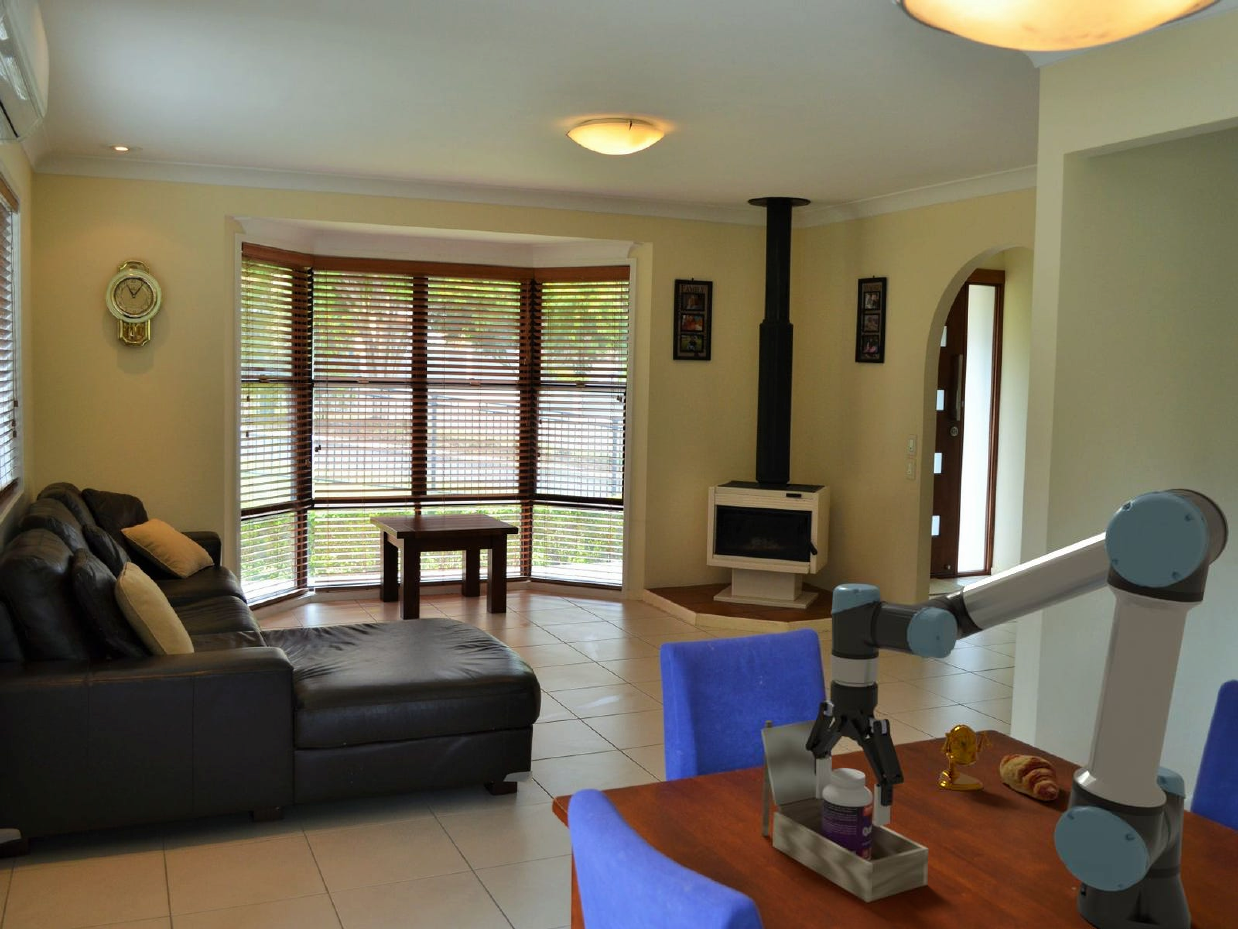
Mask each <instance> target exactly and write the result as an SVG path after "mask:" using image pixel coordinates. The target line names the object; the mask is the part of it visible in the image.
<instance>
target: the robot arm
mask: <svg viewBox="0 0 1238 929" xmlns="http://www.w3.org/2000/svg"><path fill="white" fill-rule="evenodd" d="M1229 532H1230V531H1229V523H1228V520H1227V517H1226V514H1225V513H1224V510H1222V508H1221V507H1220V505H1219V504H1218V503H1217V502H1216V501H1214V500H1213V498H1211V497H1210V496H1208V495H1206V494H1205V493H1202V492H1199V491H1197V490H1194V489H1189V488H1171V489H1166V490H1161V491H1158V490H1156V491H1150V492H1146V493H1143V494H1139V495H1137V496H1135V497H1133V498H1131V499H1129V500H1128V501H1126V502H1125V503H1124V504H1123V505H1121V506H1120V507H1119V508H1118V509H1117V510H1116V511H1115V512H1114V514H1113V515H1112V517H1111V518H1110V519H1109V521H1108V524H1107V527H1106V529H1105V531H1102V532H1100V533H1097V534H1095V535H1092V536H1089V537H1087V538H1085V539H1083V540H1080V541H1079V540H1078V541H1077V542H1074V543H1072V544H1069V545H1067V546H1064V547H1062V548H1059V549H1057V550H1054V551H1051V552H1049V553H1047V554H1044V555H1041V556H1039V557H1036V558H1034V559H1030V560H1028V561H1026V562H1024V563H1021V564H1018V565H1016V566H1013V567H1011V568H1008V569H1005V570H1003V571H1001V572H998V573H996V574H993V575H990V576H988V577H985V578H983V579H980V580H978V581H975V582H973V583H970V584H967V585H966V586H963V587H960V588H956V589H954V590H953V591H949V592H947V593H945V594H942V595H939V596H937V597H933V598H930V599H927V600H923V601H920V602H916V603H914V604H907V603H900V602H899V603H897V602H889V601H886V600H882V596H881V590H880V588H879V587H878V586H875V585H871V584H866V583H843V584H839V585H837V586H836V587H835V588H834V590H833V593H832V605H831V611H830V614H831V653H830V671H829V672H830V673H829V674H830V677H831V681H830V689H829V690H830V691H829V699H828V700H824V701H819V708H818V714H817V717H816V719H815V720H816V721H815V724H814V726H813V729H812V731H811V733H810V736H809V738H808V741H807V743H806V750H807V751H811V752H812V753H813V756H814V757H815V766H814V768H815V769H814V772H815V775H816V798H818V799H820V798H822V793H823V790H824V788H825V787H826V786H827V785H828V784H830V783H831V771H832V767H833V766H832V762H833V761H832V760H833V759H832V758H833V757H831V755H832V754H831V752H832V750H833V749H834V748H835V747H836V745H837V744H838V743H839V741H840V740H841V739H842V738H843V737H844V738H849V739H850V740H852V741H854V742H856V743H857V745H858V746H859V747H860V748H862V751H863V753H864V754H865V757H866V758H867V759H866V760H867V761H868V763H869V765H870V767H871V770H872V772H873V774H874V776H875V778H876V780H877V783H874V788H873V789H874V790H873V791H874V792H873V821H874V826H877V827H878V826H885V825H889V824H890V823H891V806H893V802H894V799H893V798H894V786H896V785H901V784H903V783H904V782H905V777H904V775H903V772H902V769H901V768H902V767H901V764H900V761H899V757H898V755H897V752H896V748H895V745H894V742H893V739H892V735H891V725H890V724H891V723H890V720H889V719H888V718H884V719H883V718H882V719H878V718H876V716H875V714H874V712H875V711H874V710H875V709H876V708H877V707H878V706H877V705H878V704H879V703H878V702H879V685H878V683H877V680H878V679H879V659H880V658H879V657H880V650H882V651H883V650H884V651H890V652H896V653H900V654H901V653H902V654H907V655H910V656H911V655H912V656H918V657H921V658H926V659H928V658H933V659H945V658H947V657H948V656H950V655H951V653H952V651H953V650H954V649H955V646H956V643H957V641H959V640H962V639H965V638H969V637H970V636H972V635H975V634H977V633H981V632H984V631H986V630H988V629H991V628H994V627H997V626H1000V625H1003V624H1005V623H1008V622H1011V621H1014V620H1017V619H1019V618H1022V617H1024V616H1028V615H1030V614H1034V613H1035V612H1039V611H1042V610H1044V609H1048V608H1050V607H1053V606H1056V605H1060V604H1061V603H1064V602H1066V601H1070V600H1073V599H1076V598H1078V597H1081V596H1084V595H1086V594H1090V593H1092V592H1095V591H1098V590H1101V589H1103V588H1107V587H1108V588H1109V589H1110V591H1111V592H1112V594H1113V595H1114V596H1115V599H1116V601H1115V604H1114V605H1115V606H1114V612H1113V617H1112V623H1111V629H1110V635H1109V640H1108V646H1107V653H1106V657H1105V664H1104V670H1103V675H1102V681H1101V685H1100V686H1101V687H1100V694H1099V697H1098V704H1097V710H1096V715H1095V722H1094V728H1093V734H1092V738H1091V744H1090V752H1089V756H1088V762H1087V764H1086V765H1084V766H1081V767H1080V768H1078V769H1076V770H1075V771H1074V774H1073V779H1072V783H1071V784H1072V785H1071V790H1070V796H1069V800H1068V806H1067V810H1065V811H1064V812H1063V813H1062V814H1061V816H1060V817H1059V818H1058V821H1057V823H1056V826H1055V829H1054V835H1053V836H1054V837H1053V838H1054V840H1053V841H1054V846H1055V850H1056V853H1057V854H1058V857H1059V858H1060V861H1062V862H1063V864H1064V865H1065V867H1066V868H1067V870H1068V871H1069V872H1070V874H1072V875H1073V877H1075V878H1076V879H1078V880H1079V881H1081V884H1080V886H1079V888H1078V892H1077V910H1078V912H1079V914H1080V915H1081V917H1082V918H1084V920H1086V921H1087V922H1089V923H1090V924H1091V925H1094V926H1095V927H1096V928H1099V929H1191V925H1192V924H1191V921H1192V920H1191V919H1192V916H1191V911H1190V909H1189V906H1188V901H1187V900H1188V899H1187V897H1186V894H1185V889H1184V886H1183V883H1182V879H1181V860H1182V859H1181V858H1182V857H1181V856H1182V844H1183V842H1182V841H1183V830H1184V829H1183V826H1184V813H1185V800H1186V798H1187V795H1186V792H1185V788H1186V787H1185V785H1186V784H1185V780H1184V778H1183V777H1182V775H1180V774H1179V772H1176V771H1175V770H1172V769H1169V768H1167V767H1164V766H1161V758H1162V752H1163V748H1164V742H1165V737H1166V731H1167V724H1168V721H1169V720H1168V719H1169V713H1170V708H1171V703H1172V698H1173V693H1174V692H1173V691H1174V686H1175V682H1176V676H1177V670H1178V665H1179V660H1180V654H1181V648H1182V644H1183V643H1182V642H1183V637H1184V632H1185V626H1186V620H1187V615H1188V613H1189V612H1190V611H1191V610H1192V609H1194V608H1195V607H1198V606H1199V605H1200V604H1202V603H1203V601H1204V596H1205V591H1206V586H1207V585H1206V584H1207V580H1208V575H1209V569H1210V565H1212V563H1215V561H1217V560H1218V559H1219V558H1220V556H1222V554H1223V552H1224V551H1225V549H1226V546H1227V544H1228V541H1229ZM833 719H834V721H833ZM832 721H833V722H832ZM826 755H827V757H826Z"/></svg>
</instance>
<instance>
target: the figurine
mask: <svg viewBox="0 0 1238 929" xmlns="http://www.w3.org/2000/svg"><path fill="white" fill-rule="evenodd" d="M944 735H945V737H946V738H945V740H944V744H943V746H942V748H940V749H941V750H940V752H941V754H942V755H945V756H946V758H947V760H948V768H947V769H945V770H942V771H941V772H940V775H939V777H938V778H939V779H938V785H939V786H940V787H941V788H943V789H945V790H951V791H959V792H960V791H961V792H962V791H966V792H968V791H977V790H978V791H979V790H982V789H983V787H984V786H983V785H984V784H983V783H982V782H981V781H980V780H979V779H978V778H976V777H972V776H970V775H968V774H965V773H962V772H959V771H958V770H957V767H956V766H963V767H965V766H967V767H968V766H971V765H973V764H974V763H976V761H978V758H979V756H978V754H982V753H983V744H984V740H985V742H986V748H989V749H992V748H994V745H993V744H992V743H991V742H990V740H989V738H988V737H987V736H988V733H987V731H980V732H979V735H980V739H979V741H978V737H977V734H976V732H975V731H974V730H973V729H972V728H971V727H970V726H968V725H966V724H957V725H955V726H954V727H953V728H951V730H950V731H949V732H945V734H944Z"/></svg>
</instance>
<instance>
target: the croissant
mask: <svg viewBox="0 0 1238 929" xmlns="http://www.w3.org/2000/svg"><path fill="white" fill-rule="evenodd" d="M999 773H1000V777H1001V783H1004V784H1006V785H1008V786H1009V787H1010V788H1011V789H1012V790H1014V791H1016V792H1019V793H1022V794H1026V795H1028V796H1029V797H1031V798H1034V799H1036V800H1040V801H1042V802H1043V801H1045V802H1046V801H1047V802H1048V801H1053V800H1056V799H1057V798H1058V796H1059V792H1060V787H1059V786H1058V785H1059V784H1058V783H1059V781H1058V776H1057V771H1056V769H1055V767H1054V766H1053V764H1051V762H1049V761H1048V759H1047V760H1045V759H1044V758H1042V757H1040V756H1033V755H1023V754H1019V753H1014V754H1008V755H1005V756H1004V757H1003V758H1002V759H1001V762H1000V765H999Z"/></svg>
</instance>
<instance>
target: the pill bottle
mask: <svg viewBox="0 0 1238 929" xmlns="http://www.w3.org/2000/svg"><path fill="white" fill-rule="evenodd" d="M831 782H832V783H830V784H828V785H827V786H826V787H825V788H824V790H823V793H822V830H821V836H823V837H824V838H826V839H828V840H830V841H832V842H834V843H835V844H837V845H839V846H841V847H843V848H845V849H846V850H848V851H850V852H852V853H854V854H855V855H857V856H859V857H861V858H863V859H865V860H866V861H868V862H869V861H870V859H871V838H872V821H873V808H874V795H873V793H872V791H871V790H870V789H869V788H868V787H866V786H865V785H866V774H865V773H864V772H862V771H861V770H858V769H854V768H847V767H846V768H845V767H840V768H835V769H833V770H831Z"/></svg>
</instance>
